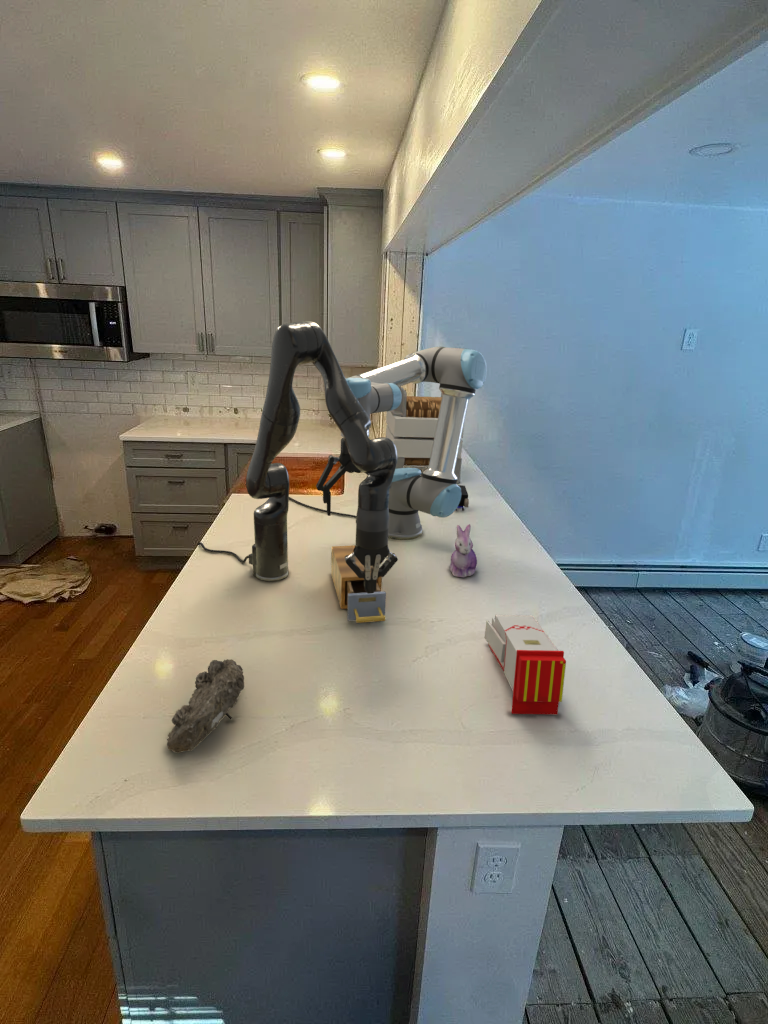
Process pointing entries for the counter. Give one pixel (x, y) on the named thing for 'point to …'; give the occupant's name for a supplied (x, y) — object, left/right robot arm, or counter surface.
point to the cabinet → (344, 571)
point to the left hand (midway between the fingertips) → (369, 591)
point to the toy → (527, 663)
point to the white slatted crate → (416, 430)
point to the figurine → (463, 554)
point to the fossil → (206, 705)
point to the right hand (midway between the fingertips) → (353, 513)
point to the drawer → (364, 603)
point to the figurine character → (463, 498)
